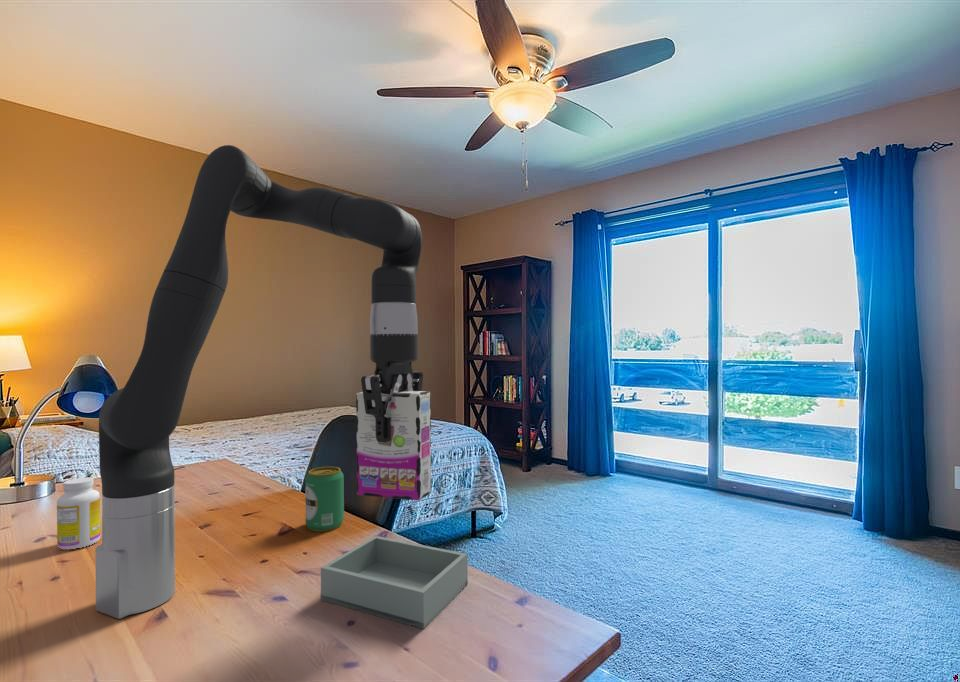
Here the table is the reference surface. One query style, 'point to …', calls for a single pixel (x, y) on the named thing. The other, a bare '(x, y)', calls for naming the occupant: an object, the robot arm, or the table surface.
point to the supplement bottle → (78, 514)
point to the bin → (395, 580)
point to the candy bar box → (396, 449)
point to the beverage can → (324, 498)
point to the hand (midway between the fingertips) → (394, 437)
